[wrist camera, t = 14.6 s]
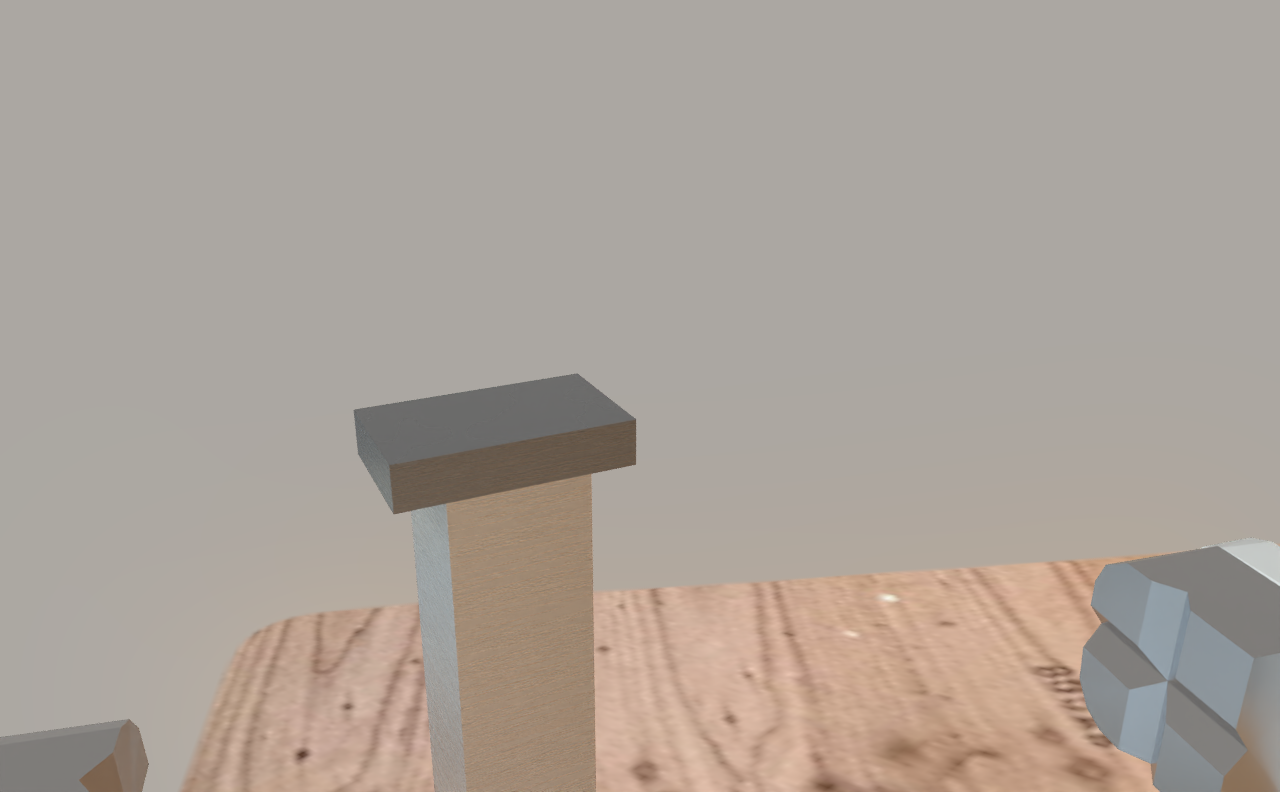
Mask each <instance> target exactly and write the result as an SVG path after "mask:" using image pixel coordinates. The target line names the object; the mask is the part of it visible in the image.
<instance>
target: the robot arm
mask: <svg viewBox="0 0 1280 792" xmlns="http://www.w3.org/2000/svg"><path fill="white" fill-rule="evenodd" d="M1091 606H1092V608H1093V610H1094V611H1095V613H1096V614H1097V616H1098V618H1099V619H1100V621H1101V623H1102V624H1101V625H1100V626H1099V628H1098V629H1097V630H1096V631H1095V633H1094V634H1093V635H1092V637H1091V638H1090V639H1089V640H1088V642H1087V643H1086V644H1085V646H1084V647H1083V655H1082V663H1081V671H1080V682H1081V686H1082V690H1083V694H1084V698H1085V702H1086V706H1087V709H1088V711H1089V712H1090V714H1091V716H1092V717H1093V719H1094V721H1095V723H1096V724H1097V726H1098V728H1099V730H1100V731H1101V732H1102V733H1103V734H1104V735H1105V736H1106V737H1107V738H1108V739H1109V740H1110V741H1111V742H1112V743H1113V744H1114V745H1115V746H1116V747H1117V749H1119V750H1121V751H1123V752H1126V753H1128V754H1130V755H1132V756H1135V757H1137V758H1139V759H1141V760H1144V761H1146V762H1148V763H1150V764H1151V771H1152V780H1153V785H1154V786H1155V787H1156V788H1157V789H1158V790H1159V791H1160V792H1280V547H1279V546H1278V545H1276V544H1275V543H1273V542H1270V541H1266V540H1261V539H1256V538H1245V539H1240V540H1235V541H1230V542H1225V543H1220V544H1215V545H1210V546H1204V547H1202V548H1201V549H1196V550H1190V551H1185V552H1179V553H1173V554H1167V555H1161V556H1155V557H1149V558H1143V559H1137V560H1132V561H1126V562H1120V563H1114V564H1108V565H1106V566H1105V567H1104V569H1103V570H1102V572H1101V573H1100V575H1099V576H1098V578H1097V579H1096V581H1095V586H1094V591H1093V596H1092V602H1091ZM148 765H149V763H148V760H147V756H146V753H145V749H144V745H143V742H142V738H141V734H140V731H139V728H138V727H137V726H136V725H135V724H134V723H133V722H132V721H131V720H130V719H128V720H121V721H114V722H106V723H99V724H92V725H85V726H77V727H70V728H63V729H56V730H49V731H42V732H35V733H27V734H20V735H13V736H5V737H0V792H142V789H143V785H144V780H145V777H146V773H147V769H148Z"/></svg>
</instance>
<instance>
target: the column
mask: <svg viewBox="0 0 1280 792" xmlns="http://www.w3.org/2000/svg"><path fill="white" fill-rule="evenodd" d="M354 418H355V426H356V437H357V446H358V454H359V456H360V458H361V460H362V461H363V463H364V465H365V466H366V468H367V470H368V472H369V473H370V475H371V477H372V478H373V480H374V482H375V483H376V485H377V487H378V488H379V490H380V492H381V494H382V495H383V497H384V499H385V500H386V502H387V504H388V506H389V507H390V509H391V510H392V512H393V514H398V513H403V512H407V511H411V516H412V528H413V539H414V552H415V562H416V574H417V586H418V598H419V611H420V623H421V634H422V646H423V658H424V670H425V682H426V694H427V705H428V717H429V729H430V741H431V753H432V764H433V776H434V788H435V792H596V756H595V689H594V622H593V557H592V488H591V474H592V473H597V472H602V471H607V470H611V469H617V468H621V467H626V466H631V465H636V419H635V418H634V417H632V416H631V415H630V414H628V413H627V412H626V411H624V410H623V409H622V408H621V407H619V406H618V405H617V404H615V403H614V402H613V401H612V400H611V399H609V398H608V397H607V396H605V395H604V394H603V393H602V392H600V391H599V390H598V389H596V388H595V387H594V386H593V385H591V384H590V383H589V382H588V381H586V380H585V379H584V378H582V377H581V376H580V375H579V374H573V375H566V376H560V377H553V378H548V379H541V380H535V381H529V382H523V383H516V384H510V385H504V386H498V387H492V388H485V389H479V390H473V391H467V392H461V393H455V394H448V395H442V396H436V397H430V398H424V399H418V400H411V401H405V402H399V403H393V404H386V405H380V406H375V407H368V408H362V409H356V410H354Z"/></svg>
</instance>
